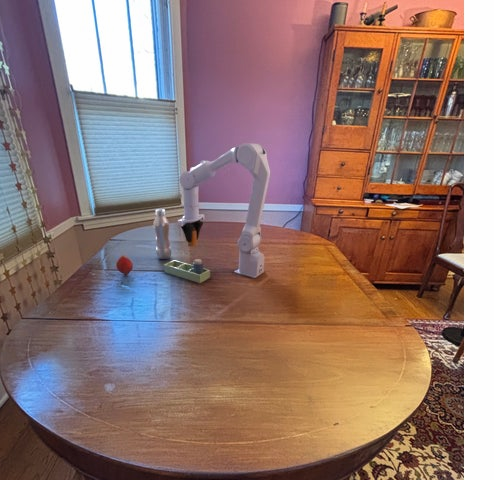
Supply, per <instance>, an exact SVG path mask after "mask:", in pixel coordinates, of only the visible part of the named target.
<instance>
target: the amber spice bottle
mask: <svg viewBox="0 0 494 480" xmlns="http://www.w3.org/2000/svg"><path fill="white" fill-rule="evenodd" d="M187 246H188V247H197V246H198V240H197V236H196V230H195V228H193V231H192V242H187Z"/></svg>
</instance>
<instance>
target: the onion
mask: <svg viewBox="0 0 494 480" xmlns="http://www.w3.org/2000/svg"><path fill="white" fill-rule="evenodd" d="M115 266H116V269H117V271H118V272H119V273H121V274H123V275H125V276H128V275H129V274H130V273H131V271H132V270H133V268H134V265H133V262H132V260H131V259H130V258H128V257H127V256H126V255H125V254H122V255H121V256H120V257H119V258H118V259H117V262H116V265H115Z"/></svg>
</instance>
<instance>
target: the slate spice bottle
mask: <svg viewBox="0 0 494 480" xmlns="http://www.w3.org/2000/svg"><path fill="white" fill-rule="evenodd" d="M192 265H193V273H196V274H199V275H200V274H201V273H203V268H204V262H203V261H202V259H201V258H196V259H194V260H193V262H192Z"/></svg>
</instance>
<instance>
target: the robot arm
mask: <svg viewBox="0 0 494 480" xmlns="http://www.w3.org/2000/svg"><path fill="white" fill-rule="evenodd" d="M267 153H268V152H267V151H266V150H265V148H264V147H263V146H262V144H260V143H258V142H253V143H252V142H251V143H249V142H244V143H241V144H240V145H237V146H235V147H233V148H231V149H229V150H228V151H226V152H225V153H223V154H222V155H220V156H219V157H217V158H215V159H214V160H212V161H209V160H201V161H199V164H198V165H196V166H192V167H190V169H189V171H187V170H186V171H183V172H182V173H181V174H180V176H179V184H180V186H181V187H182V197H183V215H182V218H180V219H177V226H178V227H180V229H181V230H182V232H183V234H184V237H185V241H186V242H187V243H188V242H192V231H193V228H195V230H196V236H197V241H198V239H199V236H200V232H201V229H202V227H203V225H204V220H206V217H205V215H206V214H203V213H200V212H199V209H200V207H199V206H200V205H199V190H200V189H199V187H200V186H201V185H202V184H203V183H205V182H207V181H209V180H211V179H212V178H214V177H215V176H216V172H217V171H219V170H222V169H223V168H225V167H227V166H229V165H231V164H233V163H235V164H237V163H238V164H240V165H241V166H242V167H243V168H245V169H247V170H248V171H249V173H250V174H251V176H252V177H253V179H252V185H251V191H250V196H249V201H248V202H249V203H248V208H247V214H246V218H245V219H246V220H245V224H244V226H243V229H242V230H241V234H240V237H238V239H237V248H238V250H239V252H238V253H239V255H238V256H239V257H238V268H237V269H236V270H234V271H233V273H235V274H239V275H243V276H247V277H249V278H250V277H251V278H253V279H254V278H258V277H259V276H260V275H261V274H263V273H265V260H266V259H265V258H266V257H265V254H264V253H263V252H261V251H260V250H259V245H261V243H262V240H263V239H262V234H261V233H262V227H261V221H262V218H263V217H262V216H263V211H264V207H265V201H266V197H267V193H268V188H269V183H270V178H271V168H270V165H269V161H268V157H267ZM199 213H200V214H199Z"/></svg>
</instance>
